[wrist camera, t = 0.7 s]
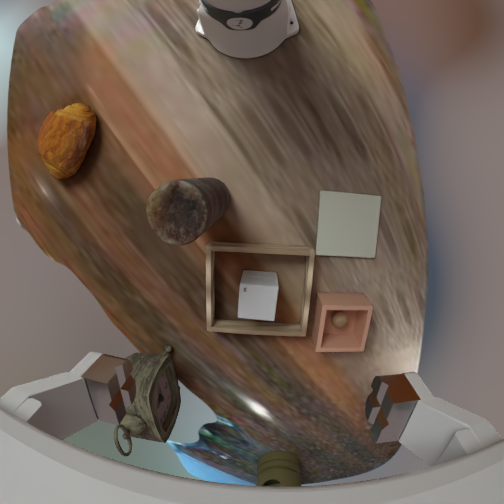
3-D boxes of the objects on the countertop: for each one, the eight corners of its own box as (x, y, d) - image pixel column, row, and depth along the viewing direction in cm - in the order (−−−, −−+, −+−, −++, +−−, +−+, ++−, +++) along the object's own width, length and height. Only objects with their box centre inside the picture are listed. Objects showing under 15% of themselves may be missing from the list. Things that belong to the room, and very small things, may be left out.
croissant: (116, 122, 49) (99, 110, 41) (76, 189, 50) (55, 187, 42) (72, 97, 47) (53, 85, 39) (36, 159, 48) (14, 154, 41)
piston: (247, 491, 52) (291, 482, 51) (250, 456, 64) (289, 446, 62) (267, 506, 54) (307, 498, 53) (268, 475, 66) (305, 465, 64)
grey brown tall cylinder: (235, 217, 50) (213, 240, 30) (194, 225, 50) (150, 252, 31) (226, 173, 48) (198, 167, 29) (185, 182, 49) (135, 184, 29)
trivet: (319, 190, 48) (320, 190, 47) (379, 196, 47) (380, 196, 47) (315, 254, 50) (315, 254, 50) (373, 257, 50) (374, 257, 49)
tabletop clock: (186, 392, 59) (154, 478, 35) (149, 389, 60) (108, 467, 36) (175, 339, 56) (128, 424, 32) (136, 336, 56) (77, 411, 32)
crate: (210, 241, 51) (206, 245, 47) (311, 246, 50) (315, 251, 47) (210, 322, 55) (207, 331, 51) (303, 327, 54) (305, 336, 50)
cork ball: (330, 308, 52) (334, 315, 49) (347, 308, 52) (351, 315, 49) (328, 323, 53) (331, 331, 50) (344, 323, 53) (348, 331, 49)
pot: (316, 292, 52) (322, 305, 46) (363, 293, 52) (373, 305, 46) (311, 335, 54) (315, 351, 48) (355, 335, 54) (363, 351, 48)
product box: (240, 300, 53) (236, 318, 46) (243, 268, 52) (239, 282, 45) (274, 303, 53) (274, 322, 46) (278, 272, 52) (279, 286, 44)
